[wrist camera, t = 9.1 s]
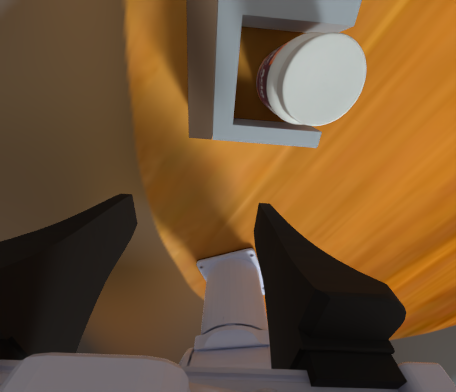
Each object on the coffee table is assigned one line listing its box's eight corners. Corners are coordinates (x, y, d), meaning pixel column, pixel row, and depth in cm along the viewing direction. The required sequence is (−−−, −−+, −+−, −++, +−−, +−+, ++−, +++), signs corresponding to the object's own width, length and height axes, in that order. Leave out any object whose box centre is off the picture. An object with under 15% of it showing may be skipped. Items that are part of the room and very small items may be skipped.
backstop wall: (221, -7, 14) (218, -44, 10) (215, 125, 19) (211, 139, 15) (198, -9, 14) (185, -48, 10) (197, 124, 19) (188, 137, 14)
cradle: (337, 13, 15) (362, -1, 12) (304, 137, 19) (317, 147, 17) (220, 1, 15) (219, -17, 12) (214, 130, 19) (212, 139, 16)
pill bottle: (270, 35, 16) (308, -3, 8) (323, 62, 16) (399, 48, 9) (246, 99, 18) (258, 113, 11) (293, 119, 19) (335, 146, 11)
